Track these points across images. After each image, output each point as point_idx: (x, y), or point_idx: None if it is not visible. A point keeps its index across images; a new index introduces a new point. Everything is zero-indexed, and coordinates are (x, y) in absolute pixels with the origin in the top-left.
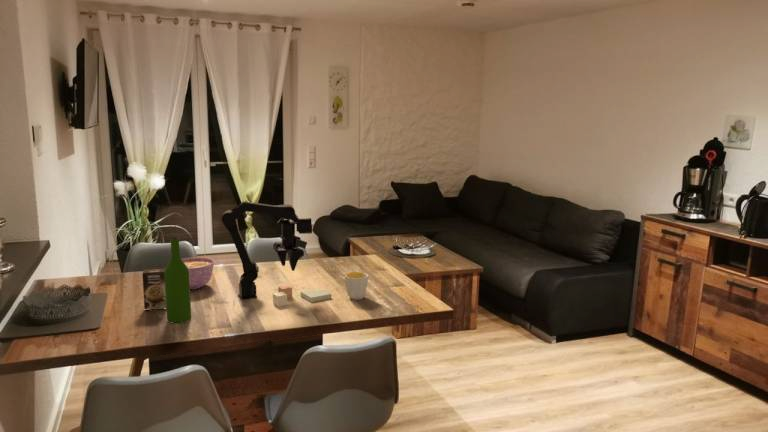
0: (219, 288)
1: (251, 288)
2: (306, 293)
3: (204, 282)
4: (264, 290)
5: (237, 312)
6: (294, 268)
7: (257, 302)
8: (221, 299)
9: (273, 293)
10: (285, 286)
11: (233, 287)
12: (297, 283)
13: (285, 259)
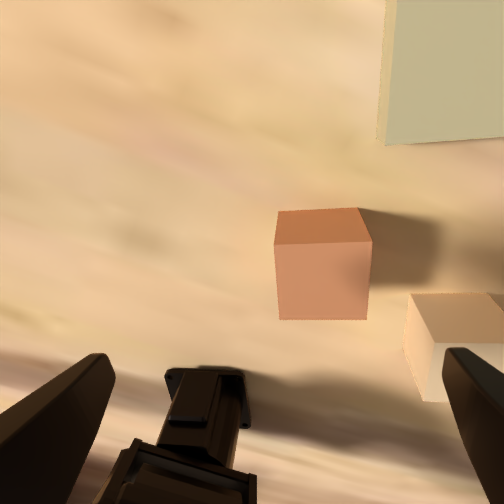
0: None
1: (230, 438)
2: (477, 113)
3: None
4: (133, 301)
5: (411, 484)
6: (499, 382)
7: (330, 394)
8: None
9: (423, 398)
10: (308, 275)
11: None
12: (9, 17)
13: (19, 434)
